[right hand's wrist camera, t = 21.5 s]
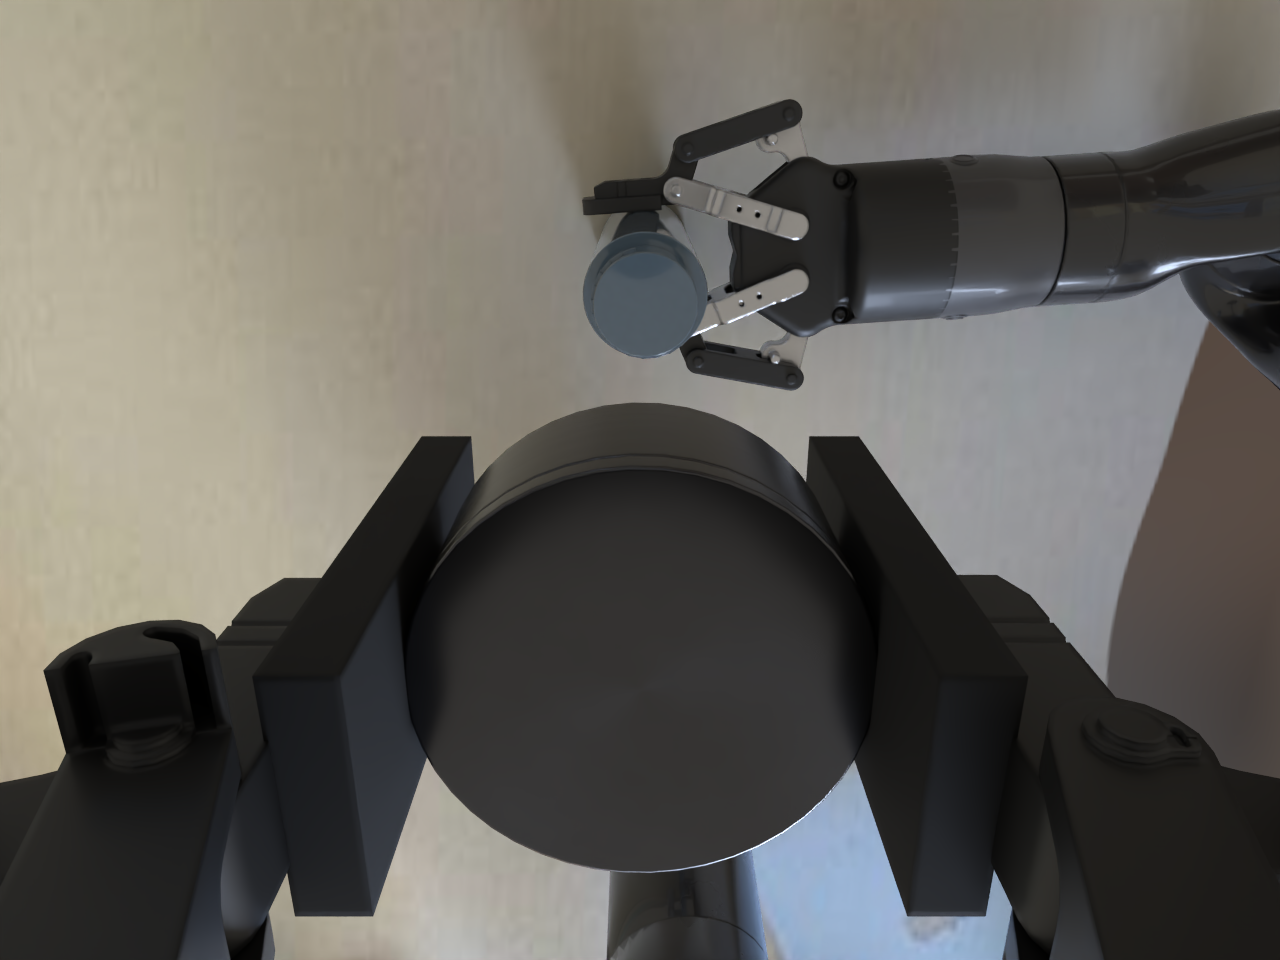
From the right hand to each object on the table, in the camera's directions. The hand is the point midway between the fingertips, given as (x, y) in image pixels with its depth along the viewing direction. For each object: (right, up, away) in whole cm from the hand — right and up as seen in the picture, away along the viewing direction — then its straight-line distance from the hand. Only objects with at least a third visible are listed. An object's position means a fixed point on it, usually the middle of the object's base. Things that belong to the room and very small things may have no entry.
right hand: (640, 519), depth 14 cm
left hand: (-2, +11, +30) cm, 32 cm away
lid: (0, -2, -4) cm, 4 cm away
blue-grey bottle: (0, +14, +36) cm, 39 cm away
